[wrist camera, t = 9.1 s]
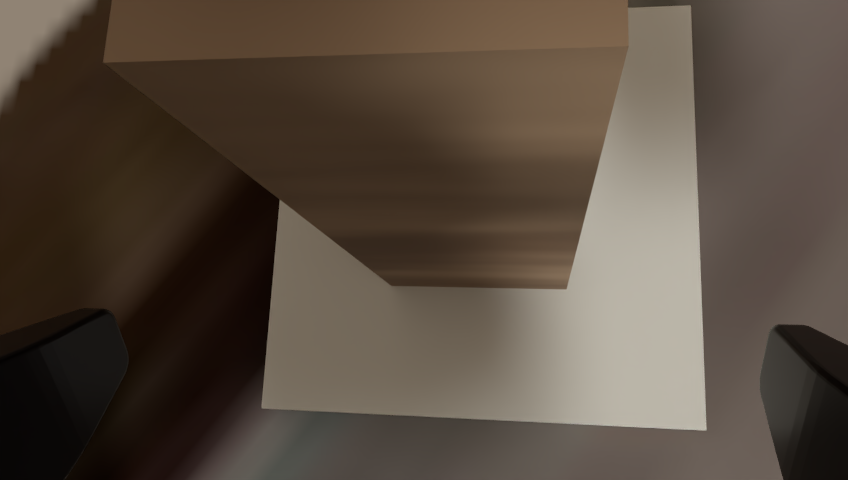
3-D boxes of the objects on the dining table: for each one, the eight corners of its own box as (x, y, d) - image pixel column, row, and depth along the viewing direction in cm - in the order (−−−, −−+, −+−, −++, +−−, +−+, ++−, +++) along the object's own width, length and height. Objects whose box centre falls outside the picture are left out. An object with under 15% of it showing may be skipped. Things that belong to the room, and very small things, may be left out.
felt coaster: (697, 429, 18) (706, 430, 17) (275, 407, 20) (261, 408, 19) (683, 23, 20) (690, 5, 19) (306, 37, 22) (295, 21, 21)
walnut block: (566, 289, 18) (629, 46, 6) (391, 285, 19) (102, 63, 6) (566, 121, 19) (620, -408, 7) (399, 123, 20) (163, -348, 7)
